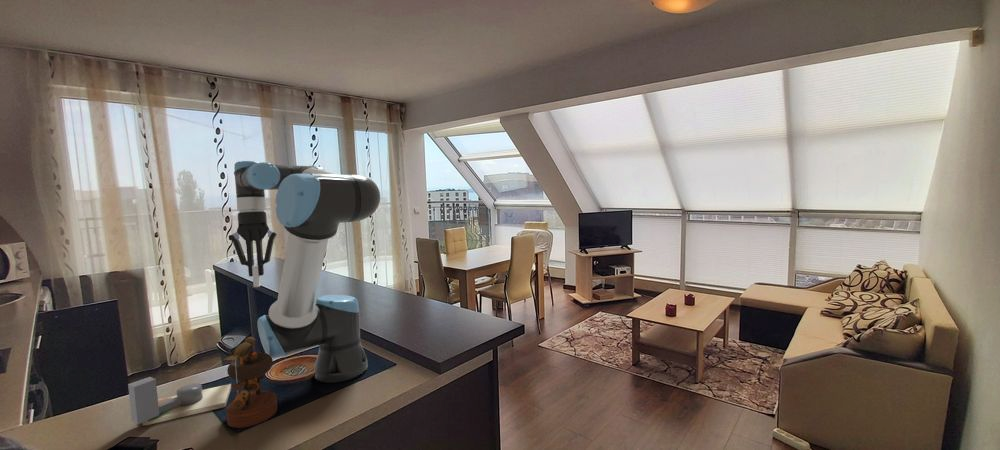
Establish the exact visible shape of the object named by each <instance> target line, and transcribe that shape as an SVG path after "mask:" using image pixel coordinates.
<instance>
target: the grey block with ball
mask: <svg viewBox="0 0 1000 450" xmlns="http://www.w3.org/2000/svg"><path fill="white" fill-rule="evenodd" d="M127 386H128V395H129V404H130V405H129V406H130V407H129V408H130V416H131V421H132V422H133V423H135V424H137V425H140V424H142V422H145V421H147V420H149V419H152V418H154V417H156V416H159V414H160V413H162V412H165V411H167V410H169V409H172V408H174V407H176V406H179V405H180V406H184V405H190V404H193V403H196V402H198V401H199V400H201V399H202V397H203V395H202V390H203V386H202V384H201V383H197V382H196V383H191V384H186V385H184V386H182V387H179V388H178V389H177V390H176V395H177V397H175V398H173V399H170V400H168V401H165V402H163V403H160V404H158V399H159V398H158V389H157V379H156V378H154V377H152V376H148V377H145V378H142V379H139V380H137V381H133V382H131V383H128V384H127Z"/></svg>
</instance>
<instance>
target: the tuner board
mask: <svg viewBox="0 0 1000 450" xmlns="http://www.w3.org/2000/svg"><path fill="white" fill-rule="evenodd" d="M231 390H232V383H228V384H223V385H219V386H215V387H209V388H205V389H202V395H203V397H202V399H201V400H199V401H198V402H196V403H193V404H190V405H184V406H180V405H179V406H176V407H174V408H172V409H169V410H167V411H165V412H162V413H160V414H159V416H156V417H154V418H152V419H149V420H147V421H145V422H142V423H141V424H142V426H143V427H145V425H146V426H149V425H152V424H157V423H162V422H167V421H170V420H174V419H179V418H184V417H188V416H192V415H196V414H201V413H205V412H209V411H213V410H214V411H215V410H219V409H223V408H226V407H227V403H228V400H229V396H230V393H231ZM175 397H177V394H176V395H171V396H167V397H162V398H158V404H160V403H163V402H165V401H168V400H170V399H173V398H175Z"/></svg>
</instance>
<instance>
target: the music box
mask: <svg viewBox="0 0 1000 450" xmlns="http://www.w3.org/2000/svg"><path fill="white" fill-rule="evenodd" d="M256 343H257V342H256V338H255V337H254V336H249V337H246V338H245V339H244V341H243V342H242V343H240V344H238V345H236V347H235V348H233V350H232V351H231V352H230V353H229V356H227V357H226V358H224V359H223V361H228V362H230V363H229V365H228V366H227V375H228V376H229V378H231V379H232V380H235V381H237V382H235V384H233V385H231V388H232V392H237V394H236V395H235V398H234V399H233V400H232V401H231V402H230V403H229V404H228V405H226V407H225V408H226V409H225V414H226V424H227V425H228V426H229V427H231V428H237V429H238V428H239V429H240V428H249V427H251V426H255V425H258V424H260V423H263V422H265V421H267V420H268V419H270V418H271V417H273V416H274V415H275V414H276V413H277V410H278V399H277V394H275V392H273V391H269V390H261V383H260V382H261V381H262V380H263V379H264V378H265V376H264V375H265V374H267V373H268V372H269V371H270V370H271V368H272V366H273V364H274V361H273V358H272V357H271V356H270V355H269V354H267V353H266V352H256V351H253V350H255V345H256ZM252 351H253V352H252ZM251 352H252V353H251ZM242 388H243V389H242ZM240 389H242V390H240ZM239 390H240V392H239Z"/></svg>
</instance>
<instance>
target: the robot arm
mask: <svg viewBox="0 0 1000 450" xmlns="http://www.w3.org/2000/svg"><path fill="white" fill-rule="evenodd" d="M233 167H234V170H233V171H234V172H233V175H234V182H235V184H234V185H235V193H236V196H235V197H236V210H237V211H239V212H238V213H237V223H238V224H237V226H238V227H237V228H236V231H235V232H234V233H232V234H230V235H228V238H229V240H230V241H231V242H232V243H233V246H234V249H235V251H236V255H237V257H238V260H239V262H240V263H239V264H241V266H246V267H247V268H248V277H252V282H253V283H252V284H253V288H259V287H260V286H261V285H262V281H261V280H262V279H261V276H264V273H265V269H264V268H265V267H264V265H265V264H267V263H269V262H270V261H271V256H272V252H273V246H274V243H275V239H276V238H277V235H278V232H276V231H273V230H270V227H269V226H268V223H267V222H268V221H267V212H266V211H265V210H266V209H267V207H266V193H265V192H266V191H265V190H267V191H268V190H272V191H273V190H277V191H276V195H275V196H276V198H275V204H276V207H275V213H276V214H275V215H276V217H277V219H278V222H279V223H280V224H281V225H282V226H283V228H284V231H286V233H287V234H288V239H287V242H286V243H287V244H286V251H285V255H284V261H283V265H282V266H283V267H282V271H281V272H282V273H281V277H280V278H281V279H280V284H279V289H278V296H277V300H276V301H274V302H273V303H272V304H271V305H270V307H269V309H268V314H264V315H262V316H260V317H259V318H258V319H257V330H258V337H259V339H260V342H261V345H262V348H263V351H264V353H267V354H269V355H270V356H271V357H272V359H276V358H281V357H286V356H289V355H291V354H295V353H297V352H301V351H305V350H307V349H312V348H313V347H318V353H317V356H316V360H315V362H314V367H313V372H314V371H315V373H316V375H315V377H314V379H315V380H316V381H318V382H322V383H329V384H330V383H340V382H346V381H348V380H351V379H355V378H357V377H359V376H360V374H361V375H362V374H364V373H365V372H366V371H367V369H368V364H369V363H368V358H367V355H366V353H365V350H364V348H363V346H362V343H361V328H360V327H361V325H360V323H361V322H360V312H361V311H360V307H359V300H358V299H357V298H356V297H354V296H351V295H345V294H344V295H343V294H329V295H328V294H326V295H321V296H318V297H317V298H316V295H317V290H318V285H319V281H320V276H321V273H322V269H323V265H324V260H325V255H326V251H327V246H328V242H329V239H333V238H334V237H335V236H336V234H337V233H338V228H339V224H343V223H345V224H346V223H353V222H354V223H355V222H360V221H364V220H365V219H368V218H369V217H371V216H372V215H373V214H374V213H375V212H376V211H377V209H378V208H379V205H380V203H381V192H380V189H379V187H378V185H377V184H376V182H374V181H373V180H372V179H371V178H369V177H366V176H364V175H361V174H360V175H359V174H345V173H344V174H341V173H340V174H339V173H334V172H330V171H327V170H325V169H324V167H323V166H315V165H289V164H288V165H286V164H273V163H270V162H266V161H264V162H259V161H254V160H241V161H239V160H238V161H237V162H235V163H234V166H233ZM266 235H267V237H268V239H267V243H266V249H265V253H264V252H263V251H264V249H263V240H264V238H265V237H266ZM240 237H241V238H242V239H243V240H244V241H245V245H246V246H245V247H246V255H245V252H244V250H243V249H244V248H243V247H242V246H243V245H242V244H241V241H240V240H239V239H240ZM253 244H255V247H256V249H255V250H256V262H257V263H256V265H255V262H254V261H255V260H254V245H253ZM264 254H265V255H264ZM315 299H316V300H315ZM365 370H366V371H365ZM364 371H365V372H364ZM363 372H364V373H363ZM358 375H359V376H358Z"/></svg>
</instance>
